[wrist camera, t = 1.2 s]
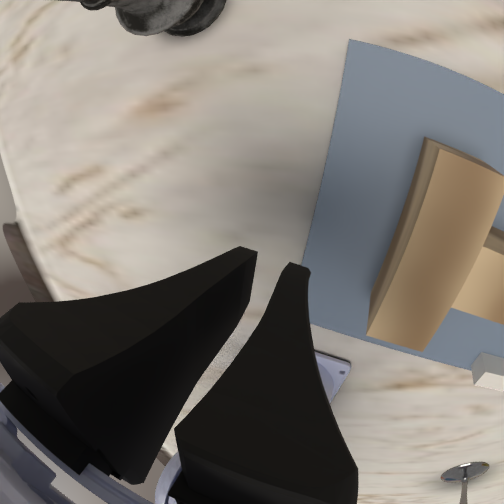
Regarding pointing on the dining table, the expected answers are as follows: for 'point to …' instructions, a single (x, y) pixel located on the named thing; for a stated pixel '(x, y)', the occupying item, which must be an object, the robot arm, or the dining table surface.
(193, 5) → the salt shaker
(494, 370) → the dock
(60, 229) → the dining table surface
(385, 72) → the board
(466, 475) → the silver goblet
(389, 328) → the t block
